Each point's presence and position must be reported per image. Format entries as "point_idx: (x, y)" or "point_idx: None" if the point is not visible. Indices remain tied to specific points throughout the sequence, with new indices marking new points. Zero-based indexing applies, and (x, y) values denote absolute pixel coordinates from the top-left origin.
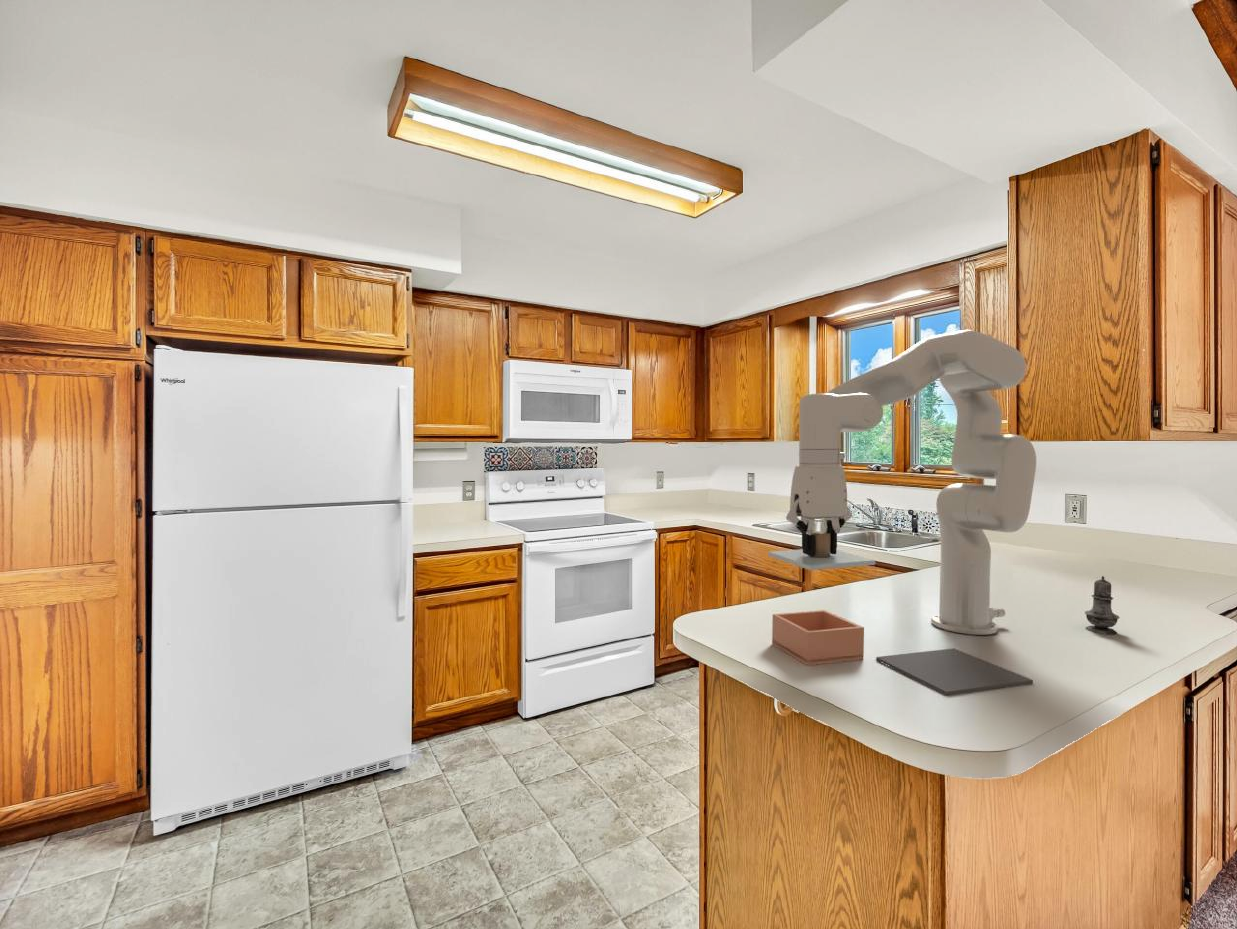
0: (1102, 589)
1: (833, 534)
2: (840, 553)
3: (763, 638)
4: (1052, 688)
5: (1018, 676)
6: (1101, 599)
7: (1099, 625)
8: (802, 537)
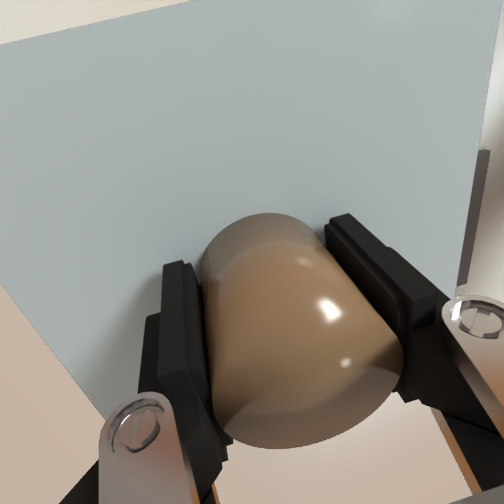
0: None
1: (403, 388)
2: (417, 211)
3: (65, 14)
4: (469, 291)
5: (461, 274)
6: None
7: None
8: (141, 389)
